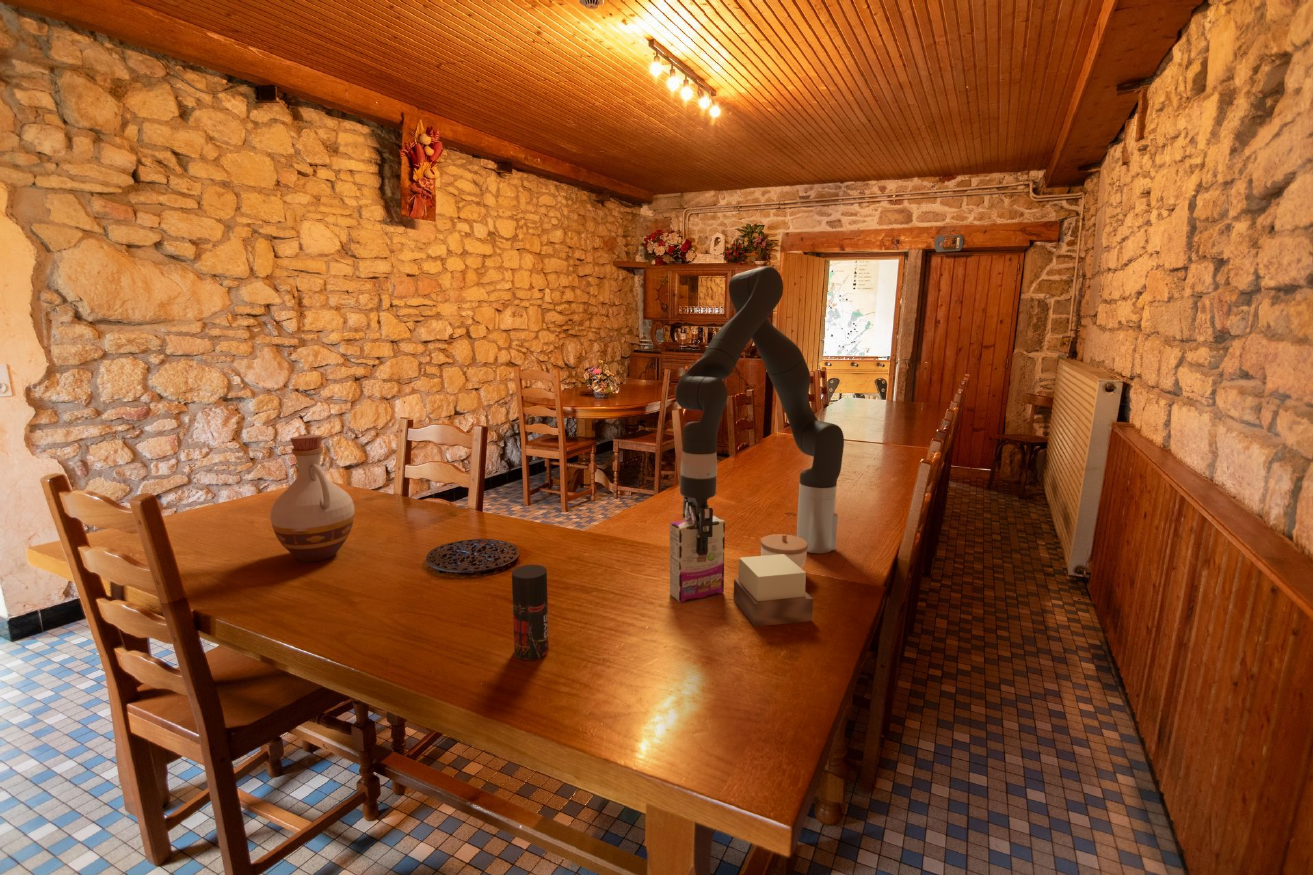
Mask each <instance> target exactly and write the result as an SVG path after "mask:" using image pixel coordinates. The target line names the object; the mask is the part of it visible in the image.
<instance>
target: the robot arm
mask: <svg viewBox="0 0 1313 875" xmlns="http://www.w3.org/2000/svg"><path fill="white" fill-rule="evenodd" d="M783 293H784V281H783V278H782V276H781V274H780V272H779V271H778V270H777V269H776V268H775V267H773V266H769V265H768V266H767V265H766V266H759V267H756V268H753V269H749V270H746V271H741V272H739V273H736V274H735V275H733V276H732V277H731V278H730V280H729V282H728V294H729V295H728V296H729V298H730V301H731V304H732V305H733V308H734V310H735V311H736V314H735V315H734V316H733V317H732V318H731V319H729V320H728V321H727V322H726V323H725V324H723V326H722V327H720V328H719V330H718V331H717V332H716V333H715V334H714V336H713V337H712V339H711V340H710V342H709V344H708V345H707V348H706V349H705V351H704V352H703V355H702V356H701V357H700V358H699V359H698V360H697V361H696V362H694V364H692V365H691V367H689V368H688V369H687V370H686V371H685V372H684V373H683V375H682V376H681V377H680V378H679V380H678V381H677V382H678V383H677V384H676V387H675V392H674V396H675V401H676V404H677V405H678V406H679V407H680V408H682V409H684V410H689V411H698V412H702V415H701V418H700V420H697V421H690V422H687V423H685V425H684V426H683V428H682V448H681V449H682V450H681V452H682V454H681V459H680V472H679V473H680V474H679V475H680V480H679V493H680V495H681V496H683V501H682V502H683V503H682V504H683V505H682V518H683V519H684V520H688V519H692V523H693V527H695V528H696V536H697V545H696V553H697V554H698V555H706V554H707V552H708V537H712V535H713V533H712V531H713V515H714V510H713V507H710V506H709V504H708V500H709V499H710V498H713V497H715V496H716V494H717V481H718V480H717V478H718V477H717V475H718V459H717V458H718V457H717V456H718V455H717V448H718V447H717V446H718V442H717V441H718V431H719V428H720V423H721V420H722V418H723V417H722V416H723V413H724V410H725V407H726V405H727V401H728V396H729V394H728V388H727V386H726V383H725V382H724V380H726V379H727V378H729V377H730V376H731V374H732V373H733V371H734V369H735V367H736V365H737V363H738V362H739V360H740V358H741V356H742V354H743V352H744V350H745V349H746V346H747V345H748V343H749V342H750V341H751V340H752V342H753V344H754V346H755V347H756V349H757V352H758V353H759V356H760V358H761V360H762V363H763V365H764V368H765V371H766V373H767V375H768V377H769V379H770V382H771V384H772V386H773V388H774V389H775V391H776V394H777V396H778V398H779V402H780V403H781V405H782V408H783V410H784V412H785V415H786V417H787V420H788V424H789V427H790V431H791V433H792V437H793V440H794V442H795V445H796V447H797V448H798V449H799V451H800V452H802V453H803V454H804V455H806V456H810V457H813V458H812V459H813V460H812V466H811V468H807V469H803V470H801V472H800V474H799V485H798V486H799V487H798V489H799V490H798V502H797V505H798V506H797V521H796V522H797V525H796V537H799V538H802V539H804V540H805V541H806V542H807V543H808V548H807V553H810V554H827V553H830V552H832V551H836V549H837V534H838V533H837V532H838V523H839V519H838V518H839V516H838V513H836V499H837V485H838V480H839V479H838V478H839V476H840V474H841V470H842V464H843V463H842V462H843V456H844V447H845V436H844V433H843V432H844V431H843V430H842V428H841V426H839V425H838V424H835V423H832V422H831V423H830V422H828V421H827V422H826V421H823V420H822V421H821V420H819V419H818V418H817V417H816V414H815V413H814V411H813V409H812V407H811V403H810V399H809V392H810V388H811V372H810V370H809V366H808V363H807V362H806V359H805V358H804V355H803V353H802V350H801V349H800V347H799V346H798V345H797V344H796V343H795V342H794V341H793V340H791V339H790V338H789V337H787V336H786V335H785V334H784V333H783V332H782V331H780V330H779V329H778V328H776V326H774V325H773V324H772V322H771V321H770V319H769V318H768V317H769V315H770V314H771V313H772V312H773V311H774V310H775V308H776V307H777V306H778V305H779V303H780V301H781V299H782V296H783ZM703 527H704V528H705V531H703Z"/></svg>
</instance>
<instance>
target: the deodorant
mask: <svg viewBox="0 0 1313 875" xmlns="http://www.w3.org/2000/svg"><path fill="white" fill-rule="evenodd" d="M511 588H512V591H511V593H512V594H511V595H512V619H513V621H512V623H513V624H512V625H513V644H514V645H513V648H514V651H513V652H514V656H515V658H517V659H518V660H521V661H531V662H532V661H536V660H540V659H542V658H544V657H546V655H548V654H549V652H550V650H549V648H550V645H549V644H550V643H549V641H550V640H549V611H548V610H549V608H548V607H549V606H548V600H549V599H548V598H549V597H548V568H546V567H545V566H543V565H541V564H540V565H539V564H523V565H520V566H517V567H515V568H514V569H513V570H511Z"/></svg>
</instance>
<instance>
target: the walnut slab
mask: <svg viewBox="0 0 1313 875" xmlns="http://www.w3.org/2000/svg"><path fill="white" fill-rule="evenodd" d="M732 600H733V601H734V602H735V603H736V605H737V607H739V609H740V610H741V612H742V613H743V614H744V616H745V617H746V618H747V619H748V620H749V621H750V623H751V624H752V625H753V626H754V627H763V626H764V627H765V626H773V625H783V624H794V623H803V622H812V621H813V609H814V598H813V597H812V596H811V595H810V594H809V593H808V592H807V591H806V590H805V597H795V598H785V599H775V600H765V601H757V600H756V599H755V598H754V597H753V596H752V595H751V594H750V593H749V592H748V590H747V589H746V588H745V587H744V586H743V585H742V584H741V583H740V582H739V581H738V578H733V599H732Z"/></svg>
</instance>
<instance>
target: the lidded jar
mask: <svg viewBox="0 0 1313 875" xmlns="http://www.w3.org/2000/svg"><path fill="white" fill-rule="evenodd" d="M807 548H808V543H807V542H806V541H805V540H804V539H802V538H799V537H797V535H796V536H795V535H790V534H784V533H783V534H782V533H777V534H776V533H773V534H769V535H765V536H763V537H762V538H761V539H760V556H766V555H778V554H784V555H786V556H787V557H788V558H789V559H790V560H792V561H793V562H794V563H795V564H796V565H798V566H799V567H800V568H801V569H802V570H803V568H804V566H805V564H806V561H807V560H806V559H807V554H808V552H807Z"/></svg>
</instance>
